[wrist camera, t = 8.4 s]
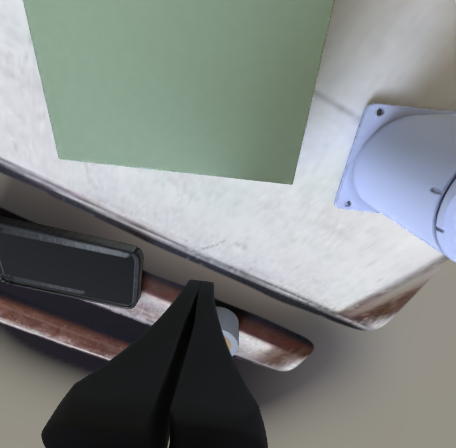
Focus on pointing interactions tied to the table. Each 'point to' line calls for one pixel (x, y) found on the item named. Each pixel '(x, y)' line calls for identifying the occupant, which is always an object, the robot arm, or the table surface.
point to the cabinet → (181, 82)
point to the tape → (229, 328)
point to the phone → (69, 263)
